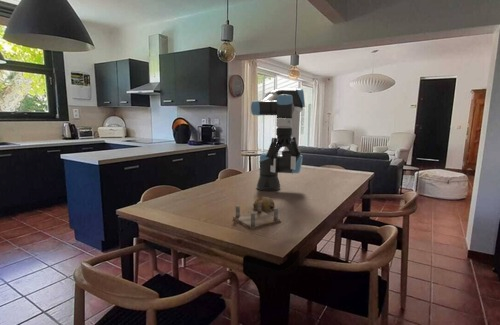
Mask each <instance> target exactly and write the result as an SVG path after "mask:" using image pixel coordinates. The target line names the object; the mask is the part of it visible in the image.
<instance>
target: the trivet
mask: <svg viewBox="0 0 500 325" xmlns="http://www.w3.org/2000/svg"><path fill="white" fill-rule="evenodd" d="M261 205H262V202H261V201H258V210H255V211H253V212H248V213H243V214H240V213H241V212H240V211H241V206H240V205H235V215H234V216H233V217H232V219H233V220H234V221H235V222H237V223H239V224H241V225H242V226H244V227H246V228H248V229H249V230H251V231H255V230H259V229H261V228H267V227H269V226H273V225H276V224H280V223H281V219H279V208H278V207H274V208H273V215H270V214H268V213H266V212H265V211H261Z"/></svg>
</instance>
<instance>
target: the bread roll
mask: <svg viewBox="0 0 500 325" xmlns="http://www.w3.org/2000/svg"><path fill="white" fill-rule="evenodd" d="M258 201H261V202H262V205H261V211H262V212H271V211H274V208H275V202H274V200H273V199H272V198H271V197H269V196H259V197H258V198H256V199H255V200H254V202H253V203H252V206H253V208H254V210H255V211H258Z"/></svg>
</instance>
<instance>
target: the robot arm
mask: <svg viewBox="0 0 500 325" xmlns="http://www.w3.org/2000/svg"><path fill="white" fill-rule="evenodd" d="M304 94H305V92H304V89H302V88H278V89H277V88H276V89H274V90H271V91H269V92H268V93H266V94H265V95H264V97H263V98H261V99H260V100H253V101H251V104H250V111H251V114H252V115H253V116H258V117H259V116H276V125H275V126H276V129H275V130H276V131H275V132H276V133H275V134H276V137H272V138H271V143H270V145H269V147H268V150H267V152H262V153H261V154H260V155H259V161H258V162H259V178H258V181H257V184H256V189H257V190H260V191H263V192H264V191H265V192H274V191H279V190H280V189H281V184H280V179H279V176H278V173H279V174H292V175H293V174H299V173H300V172H301V169H302V164H303V159H304V158H303V157H304V156H303V155H302V154H301V151H300V150H299V142H300V141H299V140H300V138H299V137H300V122H301V121H300V117H301V112H302V111H303V108H305V107H306V105H305V95H304ZM282 148H284V149H283V150H281V149H282ZM280 150H281V154H279V151H280Z"/></svg>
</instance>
